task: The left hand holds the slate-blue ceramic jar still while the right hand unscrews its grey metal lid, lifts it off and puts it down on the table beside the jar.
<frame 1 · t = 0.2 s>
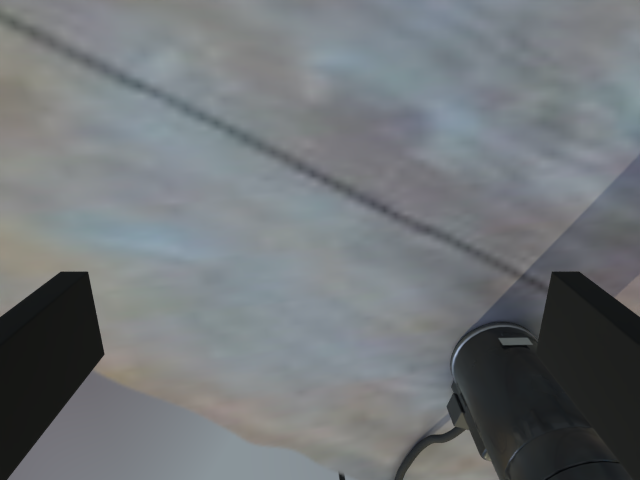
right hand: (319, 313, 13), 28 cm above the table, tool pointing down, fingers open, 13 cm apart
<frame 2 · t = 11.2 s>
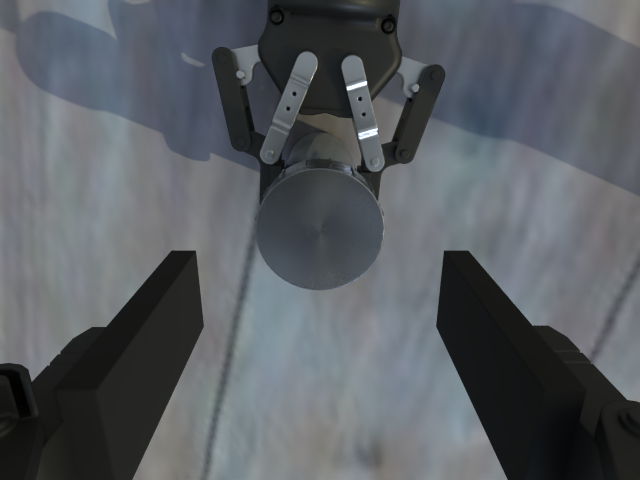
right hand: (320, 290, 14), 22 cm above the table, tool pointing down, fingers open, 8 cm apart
left hand: (317, 219, 30), fingers closed on jar, 5 cm apart
lid: (320, 229, 20), point 16 cm above the table, screwed on, not yet turned
jar: (320, 163, 35), on the table, touching left hand
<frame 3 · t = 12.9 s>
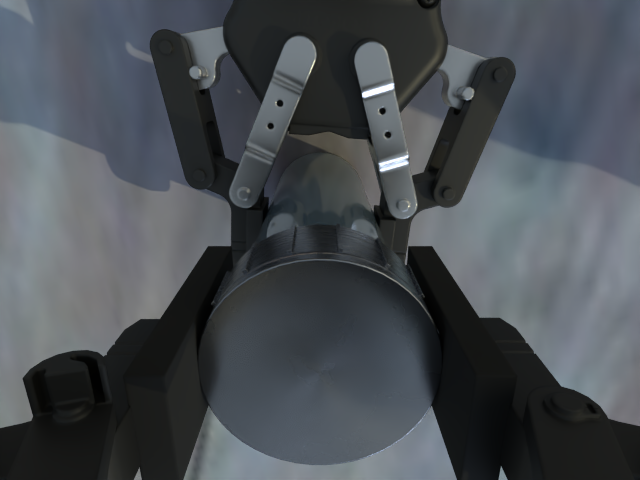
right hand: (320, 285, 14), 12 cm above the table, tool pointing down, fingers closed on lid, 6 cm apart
left hand: (316, 282, 21), fingers closed on jar, 5 cm apart
lid: (320, 363, 11), point 16 cm above the table, screwed on, not yet turned, touching right hand
jar: (320, 195, 26), on the table, touching left hand
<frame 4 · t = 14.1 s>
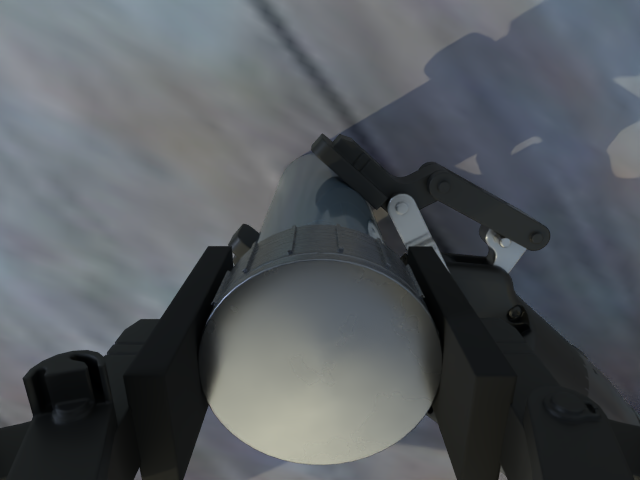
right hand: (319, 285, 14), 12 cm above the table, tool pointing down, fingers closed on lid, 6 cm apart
lid: (320, 363, 11), point 16 cm above the table, off its thread, touching right hand
jar: (320, 194, 26), on the table, touching left hand
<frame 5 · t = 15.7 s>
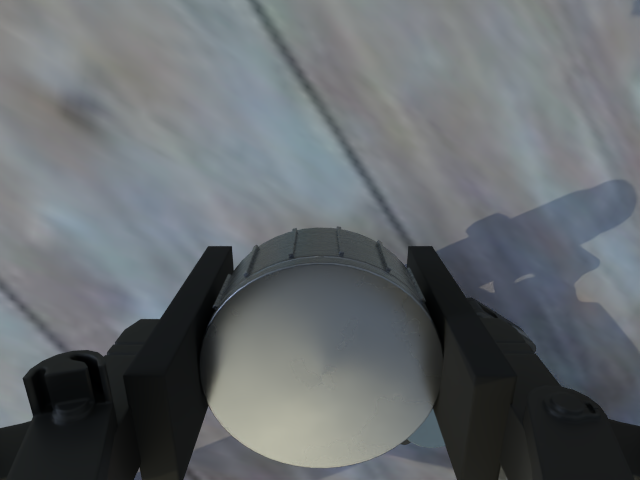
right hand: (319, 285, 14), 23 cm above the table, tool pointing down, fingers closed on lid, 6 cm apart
lid: (321, 366, 11), point 28 cm above the table, off its thread, touching right hand
jar: (392, 297, 40), on the table, touching left hand
when the right hand's fingers open (0 cm above the table, at t = 20.0 s): lid drops 2 cm, point 2 cm above the table.
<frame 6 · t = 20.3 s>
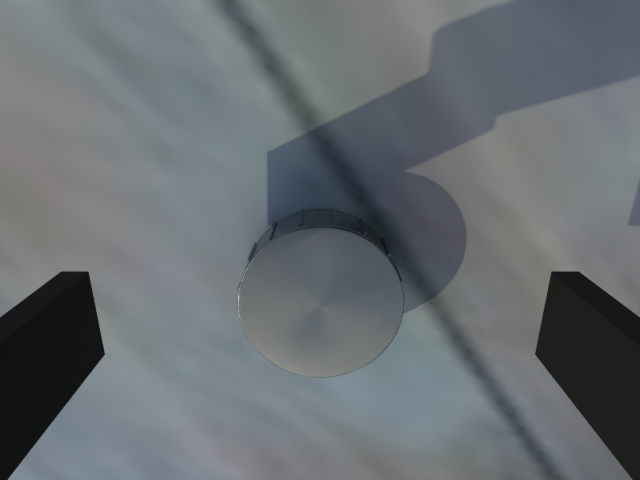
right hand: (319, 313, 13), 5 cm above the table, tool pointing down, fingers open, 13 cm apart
lid: (320, 302, 15), point 2 cm above the table, off its thread
when the left hand's fingers open (6 cm above the table, at t = 20.6 s): jar stays where it is, on the table.
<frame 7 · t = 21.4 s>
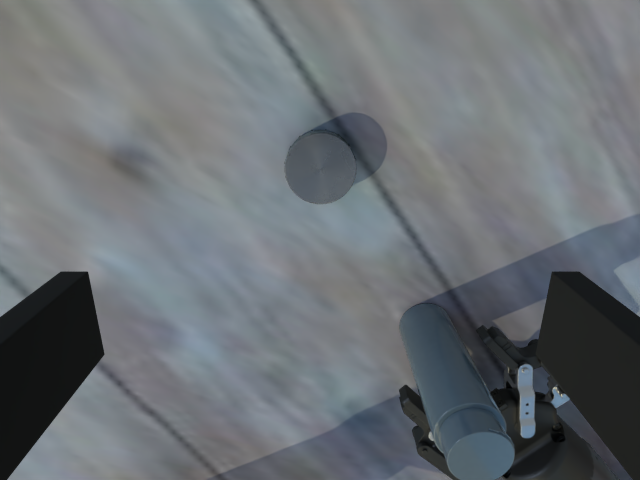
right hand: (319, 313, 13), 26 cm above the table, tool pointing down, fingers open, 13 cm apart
left hand: (441, 364, 37), fingers open, 8 cm apart
lid: (320, 168, 35), point 2 cm above the table, off its thread
jar: (424, 325, 43), on the table
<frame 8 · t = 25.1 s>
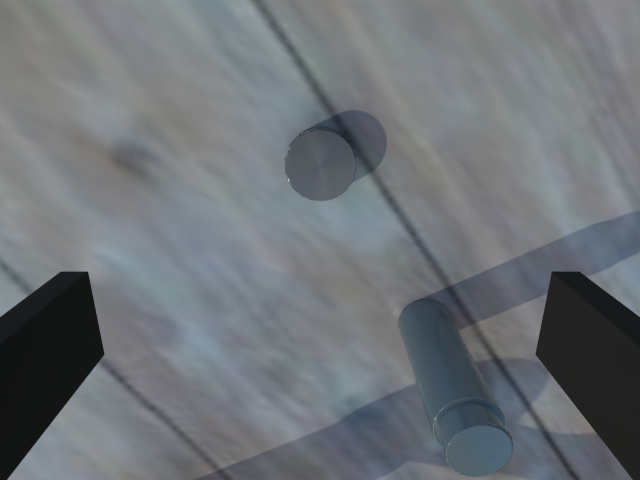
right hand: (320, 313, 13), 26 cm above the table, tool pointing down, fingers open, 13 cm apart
lid: (320, 165, 36), point 2 cm above the table, off its thread
jar: (423, 321, 43), on the table
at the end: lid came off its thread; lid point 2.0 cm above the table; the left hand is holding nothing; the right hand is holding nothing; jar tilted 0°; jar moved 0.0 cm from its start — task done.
